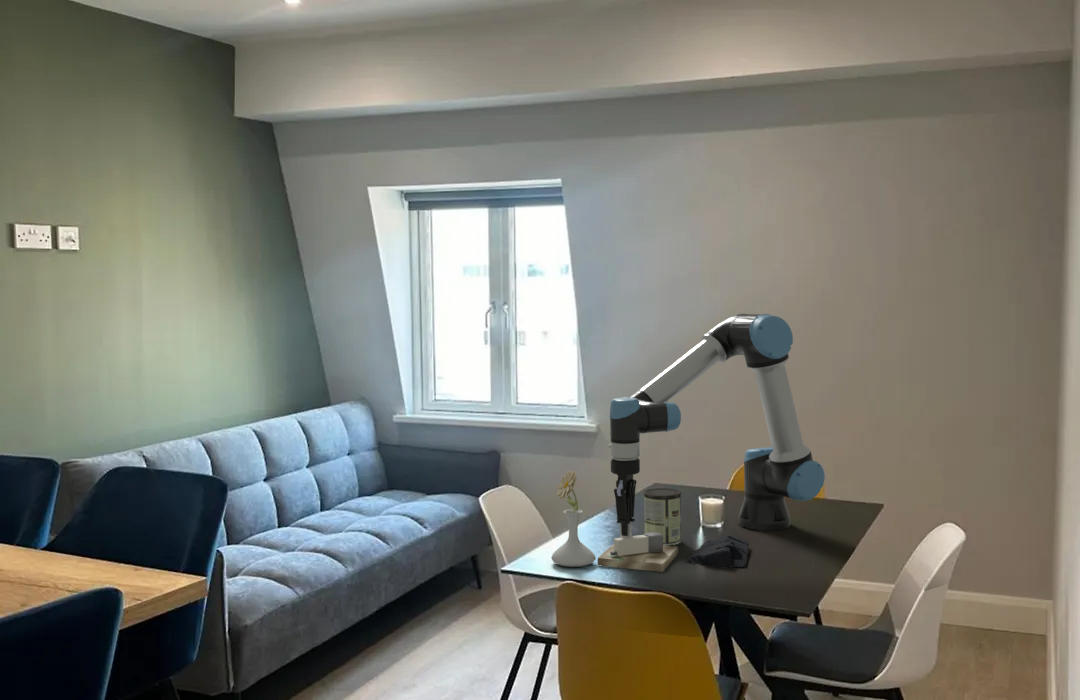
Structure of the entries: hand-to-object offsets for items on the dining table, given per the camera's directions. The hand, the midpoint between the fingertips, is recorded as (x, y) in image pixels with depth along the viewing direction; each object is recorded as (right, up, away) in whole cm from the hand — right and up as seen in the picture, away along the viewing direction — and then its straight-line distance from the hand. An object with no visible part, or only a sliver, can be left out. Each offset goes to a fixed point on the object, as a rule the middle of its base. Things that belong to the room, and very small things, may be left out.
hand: (626, 546), depth 260 cm
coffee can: (+12, -2, +18) cm, 21 cm away
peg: (+3, -1, -2) cm, 3 cm away
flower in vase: (-14, -4, -4) cm, 15 cm away
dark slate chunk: (+26, -4, +3) cm, 26 cm away
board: (+3, -3, 0) cm, 5 cm away
